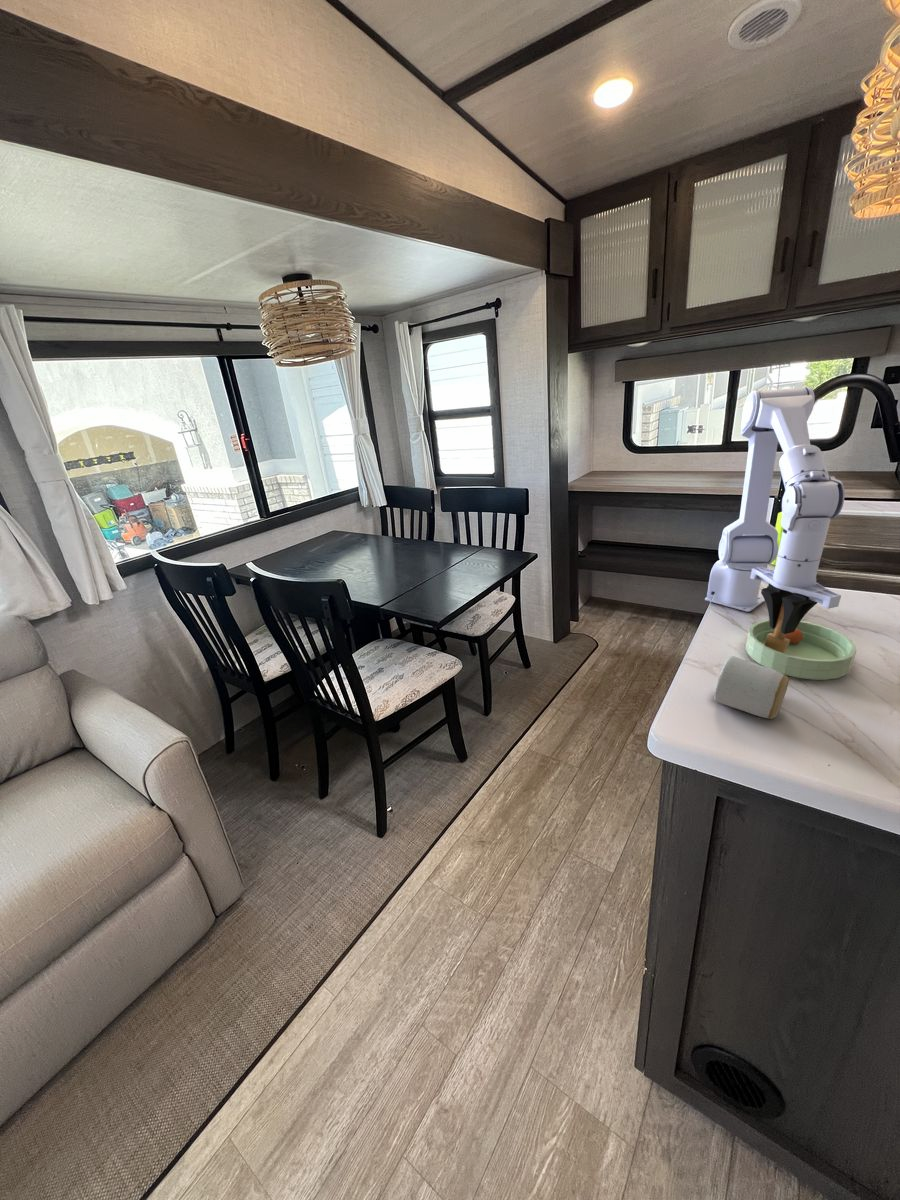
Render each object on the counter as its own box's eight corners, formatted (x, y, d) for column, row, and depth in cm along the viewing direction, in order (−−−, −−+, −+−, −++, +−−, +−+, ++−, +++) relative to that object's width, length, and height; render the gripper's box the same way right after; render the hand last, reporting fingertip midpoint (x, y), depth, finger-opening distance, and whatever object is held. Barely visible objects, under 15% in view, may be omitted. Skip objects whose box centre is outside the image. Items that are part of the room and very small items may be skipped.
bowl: (730, 658, 85) (733, 638, 83) (765, 629, 93) (769, 611, 91) (831, 693, 73) (838, 672, 72) (862, 657, 81) (868, 637, 80)
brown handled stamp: (762, 649, 84) (776, 598, 80) (767, 646, 85) (782, 596, 81) (781, 656, 82) (797, 604, 78) (786, 654, 82) (802, 602, 79)
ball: (778, 627, 88) (794, 629, 88) (779, 643, 87) (794, 645, 88) (791, 626, 85) (806, 627, 85) (791, 642, 84) (807, 644, 85)
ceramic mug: (772, 731, 67) (784, 686, 64) (710, 709, 72) (718, 667, 69) (787, 696, 74) (798, 654, 71) (730, 679, 79) (737, 639, 76)
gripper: (864, 565, 71) (841, 643, 76) (779, 540, 83) (764, 609, 89) (827, 573, 69) (807, 652, 75) (746, 546, 82) (734, 616, 87)
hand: (781, 629), depth 82 cm, fingers closed on brown handled stamp, 2 cm apart
